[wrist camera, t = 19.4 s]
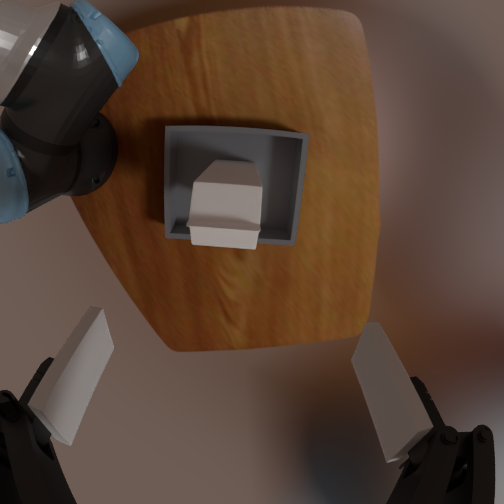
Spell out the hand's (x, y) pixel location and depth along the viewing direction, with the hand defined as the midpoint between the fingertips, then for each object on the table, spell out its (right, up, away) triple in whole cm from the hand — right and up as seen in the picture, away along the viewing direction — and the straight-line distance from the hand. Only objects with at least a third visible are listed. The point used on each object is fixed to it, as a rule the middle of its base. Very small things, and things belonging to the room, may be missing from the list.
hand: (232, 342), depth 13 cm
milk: (-2, +15, +29) cm, 33 cm away
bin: (-2, +15, +29) cm, 33 cm away
